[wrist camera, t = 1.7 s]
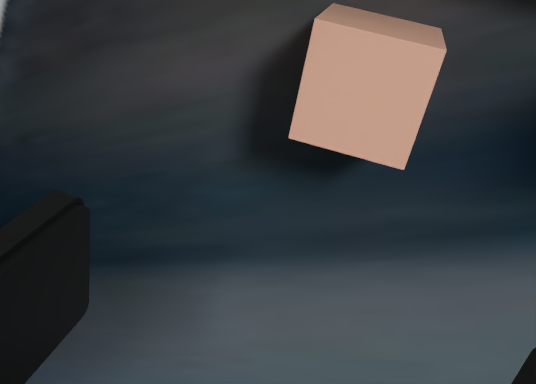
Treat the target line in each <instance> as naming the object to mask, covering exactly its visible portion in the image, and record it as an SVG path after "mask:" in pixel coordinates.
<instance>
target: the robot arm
mask: <svg viewBox="0 0 536 384" xmlns="http://www.w3.org/2000/svg"><path fill="white" fill-rule="evenodd" d="M89 248H90V211H89V208H87V207H85V206H84V202H83V200H82V199H81V198H79V197H75V196H72V195H69V194H66V193H62V192H59V191H54V192H52V193H50V194H48V195H47V196H46V197H44V198H43V199H41V200H40V201H39V202H37V203H36V204H34V205H33V206H31V207H30V208H29V209H27V210H26V211H24V212H23V213H21V214H20V215H19V216H17V217H16V218H14V219H13V220H12V221H10V222H9V223H7V224H6V225H4V226H3V227H2V228H0V384H25V382H26V381H27V380H28V379H29V378H30V377H31V376H32V374H33V373H34V372H35V371H36V370H37V369H38V367H39V366H40V365H41V364H42V363H43V362H44V361H45V359H46V358H47V357H48V356H49V355H50V354H51V353H52V351H53V350H54V349H55V348H56V347H57V346H58V345H59V343H60V342H61V341H62V340H63V339H64V338H65V336H66V335H67V334H68V333H69V332H70V331H71V330H72V328H73V327H74V326H75V325H76V324H77V323H78V322H79V320H80V319H81V318H82V317H83V315H84V314H85V312H86V310H87V307H88V303H89ZM512 384H536V348H534V349H533V350H532V351H531V353H530V354H529V356H528V358H527V359H526V361H525V363H524V364H523V366H522V367H521V369H520V371H519V372H518V374H517V376H516V377H515V379H514V380H513V382H512Z"/></svg>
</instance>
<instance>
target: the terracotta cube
mask: <svg viewBox="0 0 536 384" xmlns="http://www.w3.org/2000/svg"><path fill="white" fill-rule="evenodd" d="M446 51H447V50H446V46H445V42H444V38H443V34H442V31H441V28H437V27H433V26H428V25H424V24H420V23H416V22H411V21H407V20H403V19H399V18H394V17H390V16H386V15H382V14H377V13H373V12H369V11H365V10H360V9H356V8H352V7H348V6H343V5H339V4H335V3H333V4H332V5H330V6H329V7H328V8H327V9H326V10H324V11H323V12H322V13H321V14H320V15H318V16H317V17H316V18H315V19H314V24H313V29H312V33H311V38H310V42H309V47H308V51H307V56H306V60H305V65H304V69H303V74H302V78H301V83H300V87H299V92H298V97H297V101H296V106H295V110H294V115H293V119H292V124H291V128H290V133H289V137H288V138H290V139H293V140H297V141H300V142H304V143H308V144H311V145H315V146H318V147H322V148H326V149H329V150H333V151H337V152H340V153H344V154H347V155H351V156H355V157H358V158H362V159H366V160H369V161H373V162H376V163H380V164H384V165H387V166H391V167H394V168H398V169H402V170H404V169H405V166H406V163H407V160H408V157H409V155H410V152H411V149H412V146H413V143H414V141H415V138H416V135H417V132H418V129H419V127H420V124H421V121H422V118H423V115H424V112H425V110H426V107H427V104H428V101H429V98H430V96H431V93H432V90H433V87H434V84H435V82H436V79H437V76H438V73H439V70H440V68H441V65H442V62H443V59H444V56H445V54H446Z"/></svg>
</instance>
